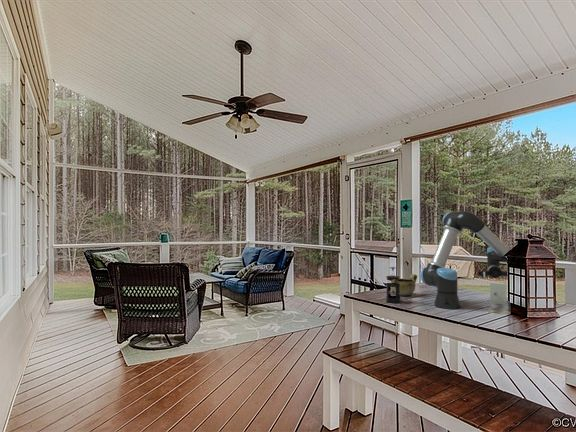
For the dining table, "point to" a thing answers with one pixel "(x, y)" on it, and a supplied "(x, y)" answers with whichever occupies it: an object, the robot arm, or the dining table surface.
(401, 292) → the ceramic bowl
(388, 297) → the french press
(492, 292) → the flat rectangular panel
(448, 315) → the dining table surface
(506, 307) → the cradle
